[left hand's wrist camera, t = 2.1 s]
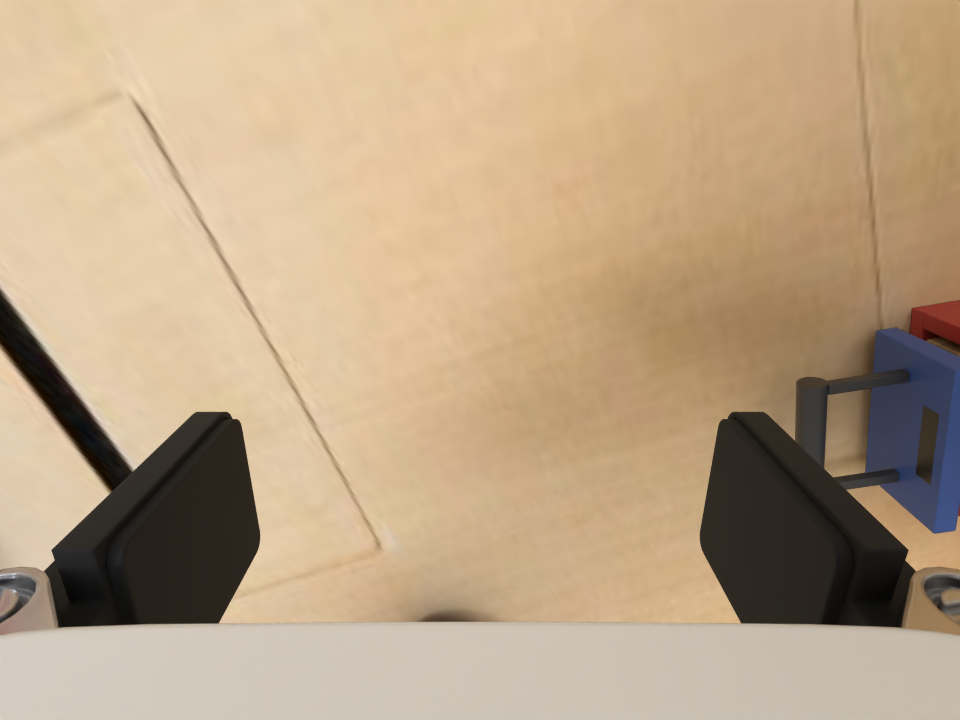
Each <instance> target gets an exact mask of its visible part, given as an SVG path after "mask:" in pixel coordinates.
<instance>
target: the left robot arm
mask: <svg viewBox="0 0 960 720" xmlns="http://www.w3.org/2000/svg"><path fill="white" fill-rule="evenodd" d="M259 543H260V530H259V524H258V518H257V512H256V507H255V501H254V495H253V489H252V483H251V478H250V472H249V466H248V460H247V455H246V449H245V443H244V437H243V431H242V426H241V423H240V421H239V420H237V419H232V417H231V415H230V414H229V413H228V412H196V413H194V414H193V415H192V416H191V417H190V418H189V419H188V420H187V421H185V422H184V423H183V424H182V425H181V426H180V427H179V428H178V429H177V430H176V431H175V432H174V433H173V434H172V435H171V436H170V437H169V438H168V439H167V440H166V441H165V442H164V443H163V444H162V445H160V446H159V447H158V448H157V449H156V450H155V451H154V452H153V453H152V454H151V455H150V456H149V457H148V458H147V459H146V460H145V461H144V462H143V463H142V464H141V465H140V466H139V467H138V468H137V469H135V470H134V471H133V472H132V473H131V474H130V475H129V476H128V477H127V478H126V479H125V480H124V481H123V482H122V483H121V484H120V485H119V486H118V487H117V488H116V489H115V490H114V491H113V492H112V493H110V494H109V495H108V496H107V497H106V498H105V499H104V500H103V501H102V502H101V503H100V504H99V505H98V506H97V507H96V508H95V509H94V510H93V511H92V512H91V513H90V514H89V515H88V516H87V517H85V518H84V519H83V520H82V521H81V522H80V523H79V524H78V525H77V526H76V527H75V528H74V529H73V530H72V531H71V532H70V533H69V534H68V535H67V536H66V537H65V538H64V539H63V540H62V541H60V542H59V543H58V544H57V545H56V546H55V547H54V548H53V549H52V553H53V556H54V559H55V561H54V562H53V563H52V564H51V565H50V566H49V567H48V568H47V569H46V570H45V571H41V570H39V569H37V568H31V567H16V568H9V569H2V570H0V720H960V570H958V569H951V568H944V567H929V568H923V569H921V570H919V571H915V570H914V569H913V568H912V567H911V566H910V565H909V564H908V563H907V562H906V561H905V559H906V556H907V553H908V549H907V548H906V547H905V546H904V545H903V544H902V543H901V542H900V541H898V540H897V539H896V538H895V537H894V536H893V535H892V534H891V533H890V532H889V531H888V530H887V529H886V528H885V527H884V526H883V525H882V524H881V523H880V522H879V521H878V520H877V519H876V518H875V517H873V516H872V515H871V514H870V513H869V512H868V511H867V510H866V509H865V508H864V507H863V506H862V505H861V504H860V503H859V502H858V501H857V500H856V499H855V498H854V497H853V496H852V495H851V494H850V493H848V492H847V491H846V490H845V489H844V488H843V487H842V486H841V485H840V484H839V483H838V482H837V481H836V480H835V479H834V478H833V477H832V476H831V475H830V474H829V473H828V472H827V471H826V470H825V469H823V468H822V467H821V466H820V465H819V464H818V463H817V462H816V461H815V460H814V459H813V458H812V457H811V456H810V455H809V454H808V453H807V452H806V451H805V450H804V449H803V448H802V447H801V446H800V445H798V444H797V443H796V442H795V441H794V440H793V439H792V438H791V437H790V436H789V435H788V434H787V433H786V432H785V431H784V430H783V429H782V428H781V427H780V426H779V425H778V424H777V423H776V422H775V421H773V420H772V419H771V418H770V417H769V416H768V415H767V414H766V413H764V412H732V413H731V414H730V415H729V417H728V419H723V420H721V421H720V423H719V426H718V431H717V437H716V443H715V449H714V455H713V460H712V466H711V472H710V478H709V483H708V489H707V495H706V501H705V507H704V512H703V518H702V524H701V530H700V543H701V548H702V551H703V553H704V555H705V557H706V559H707V561H708V562H709V564H710V566H711V568H712V570H713V572H714V573H715V575H716V577H717V579H718V581H719V583H720V585H721V586H722V588H723V590H724V592H725V594H726V596H727V598H728V599H729V601H730V603H731V605H732V607H733V609H734V611H735V612H736V614H737V616H738V618H739V620H740V622H741V624H736V623H616V622H331V623H224V624H219V622H220V620H221V618H222V616H223V614H224V612H225V611H226V609H227V607H228V605H229V603H230V601H231V599H232V598H233V596H234V594H235V592H236V590H237V588H238V586H239V585H240V583H241V581H242V579H243V577H244V575H245V573H246V572H247V570H248V568H249V566H250V564H251V562H252V561H253V559H254V557H255V555H256V553H257V551H258V548H259Z"/></svg>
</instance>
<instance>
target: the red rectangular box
mask: <svg viewBox="0 0 960 720" xmlns="http://www.w3.org/2000/svg"><path fill="white" fill-rule="evenodd" d="M910 334H911V335H914V336H916V337H918V338H920V339H922V340H924V341H926V342H927V340H928V339H933V338H939V337H943V338H945V339H947V340H950V341H952V342H954V343H957V344H959V345H960V300H958V301H952V302H946V303H940V304H934V305H929V306H923V307H917V308H913V309H912V318H911V327H910ZM958 515H959V516H960V505H959V511H958Z"/></svg>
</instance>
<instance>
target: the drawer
mask: <svg viewBox="0 0 960 720" xmlns="http://www.w3.org/2000/svg"><path fill="white" fill-rule="evenodd" d="M869 388H872V391H871V404H870V417H869V430H868V443H867V456H866V469H865V473H860V474H854V475H847V476H840V477H833V478H834V479H835V480H836V481H837V482H838V483H839V484H840V485H841V486H842V487H843V488H844V489H845V490H847V489H854V488H861V487H868V486H874V485H879V486H881V487H882V488H883V489H884V490H885V491H886V492H887V493H888V494H890V495H891V496H892V497H893V498H894V499H895V500H896V501H898V502H899V503H900V504H901V505H902V506H903V507H904V508H905V509H907V510H908V511H909V512H910V513H911V514H912V515H913V516H914V517H916V518H917V519H918V520H919V521H920V522H921V523H922V524H924V525H925V526H926V527H927V528H928V529H929V530H930V531H931V532H933V533H943V532H950V531H955V530H956V524H957V518H958V511H959V505H960V345H959V344H957V343H954V342H952V341H950V340H947V339H945V338H943V337H939V338H933V339H928V340H927V342H926V341H924V340H922V339H920V338H918V337H916V336H914V335H911V334H909V333H907V332H905V331H903V330H901V329H899V328H890V329H884V330H878V331H876V339H875V352H874V365H873V374H867V375H861V376H855V377H849V378H843V379H836V380H830V381H825V380H824V379H821V378H816V377H805V378H801V379H799V380H798V381H797V382H796V422H795V442H796V443H797V444H798V445H800V446H801V447H802V448H803V449H804V450H805V451H806V452H807V453H808V454H809V455H810V456H811V457H812V458H813V459H814V460H815V461H816V462H817V463H818V464H819V465H820V466H821V467H822V468H823V469H824V460H825V438H826V416H827V394H828V395H832V394H838V393H844V392H850V391H857V390H863V389H869Z"/></svg>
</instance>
